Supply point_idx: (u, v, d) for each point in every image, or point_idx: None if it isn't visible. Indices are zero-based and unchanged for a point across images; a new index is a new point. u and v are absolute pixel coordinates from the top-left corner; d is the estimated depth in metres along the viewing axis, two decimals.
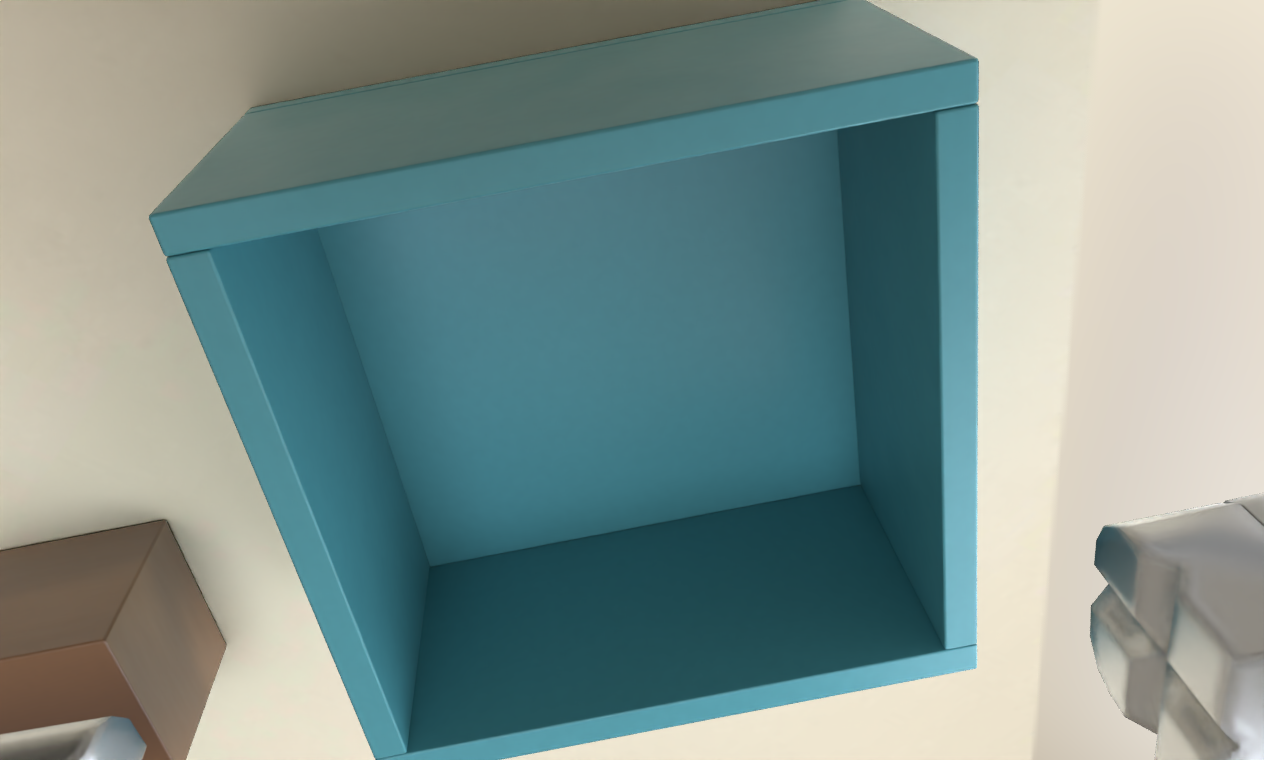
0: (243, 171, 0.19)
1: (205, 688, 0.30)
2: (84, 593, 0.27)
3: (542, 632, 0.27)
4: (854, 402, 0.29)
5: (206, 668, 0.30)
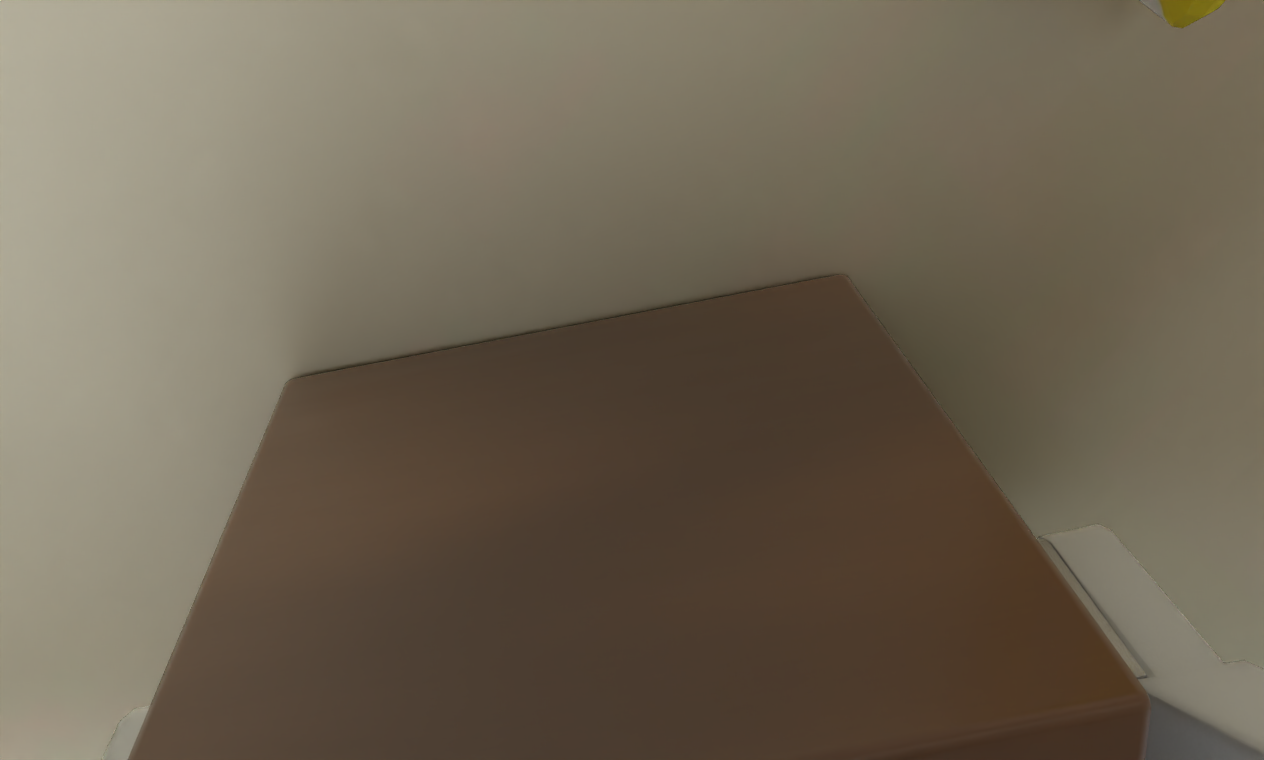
0: None
1: None
2: None
3: None
4: None
5: None
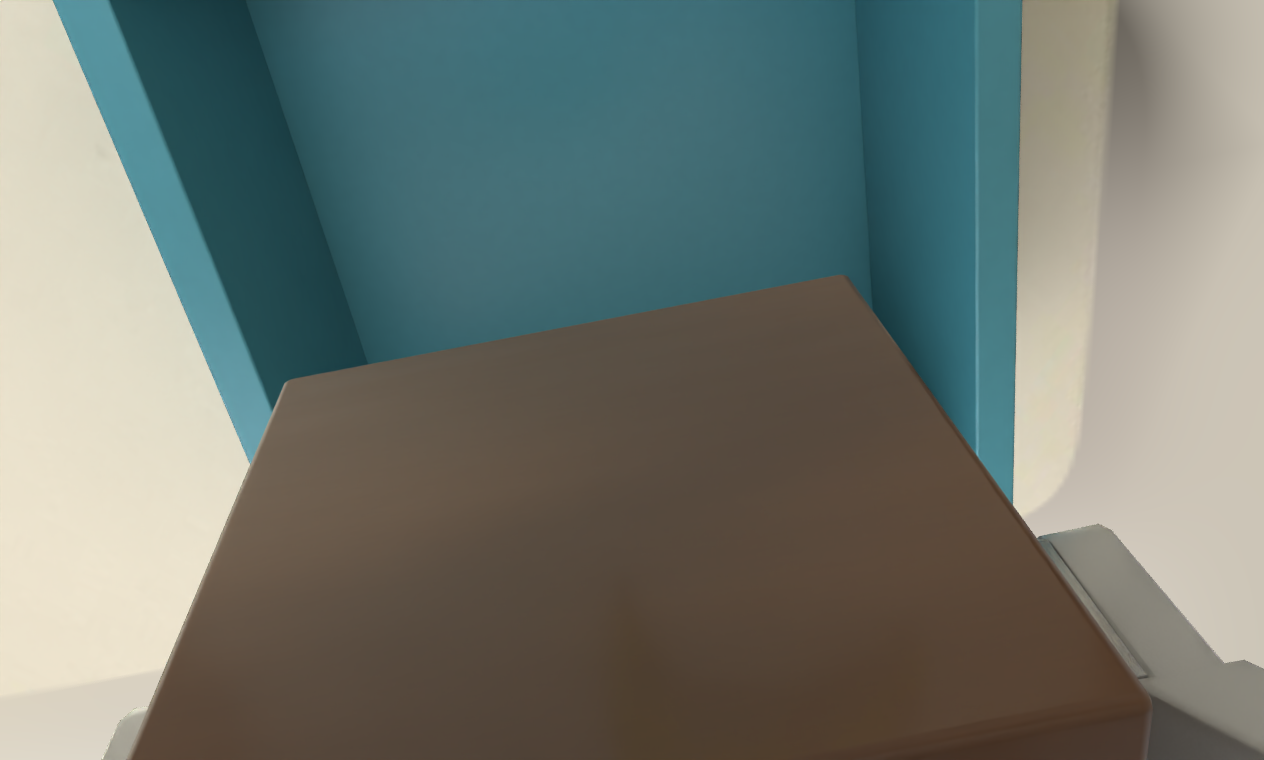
0: None
1: None
2: None
3: (239, 148, 0.19)
4: None
5: None
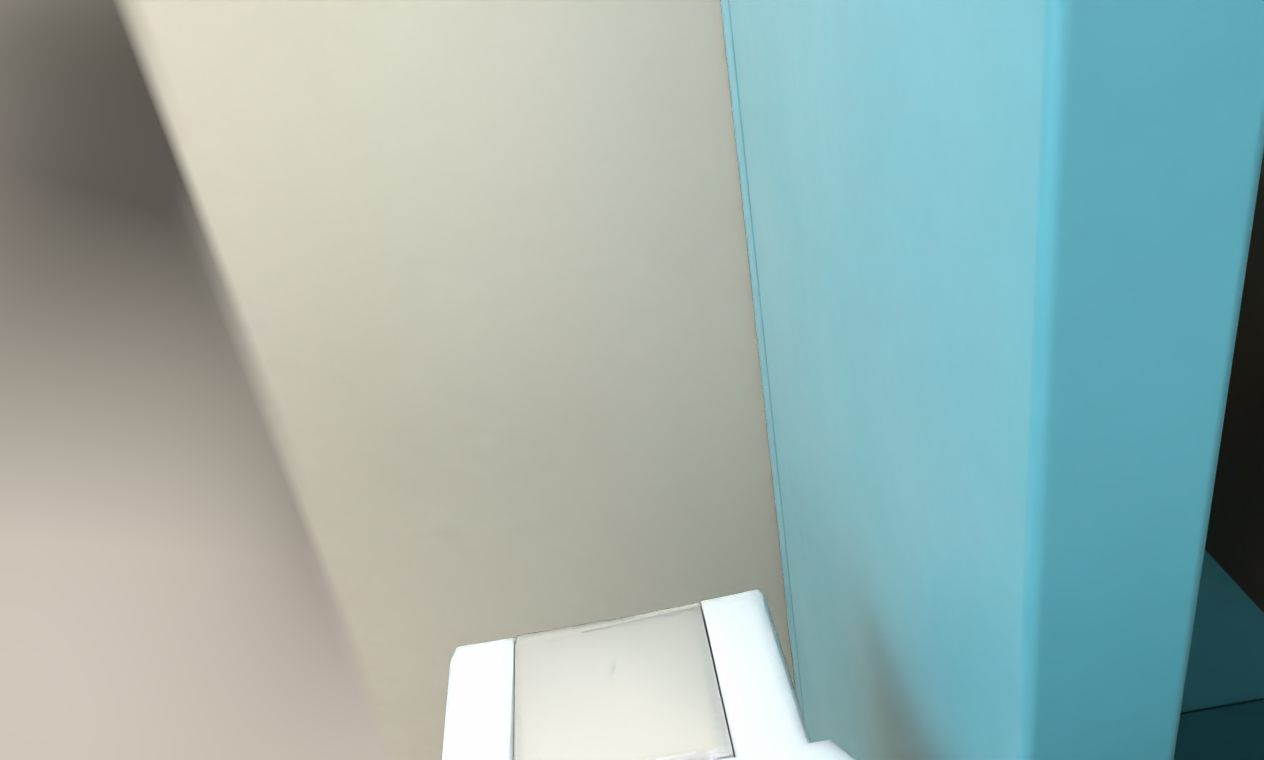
0: None
1: None
2: None
3: None
4: None
5: None
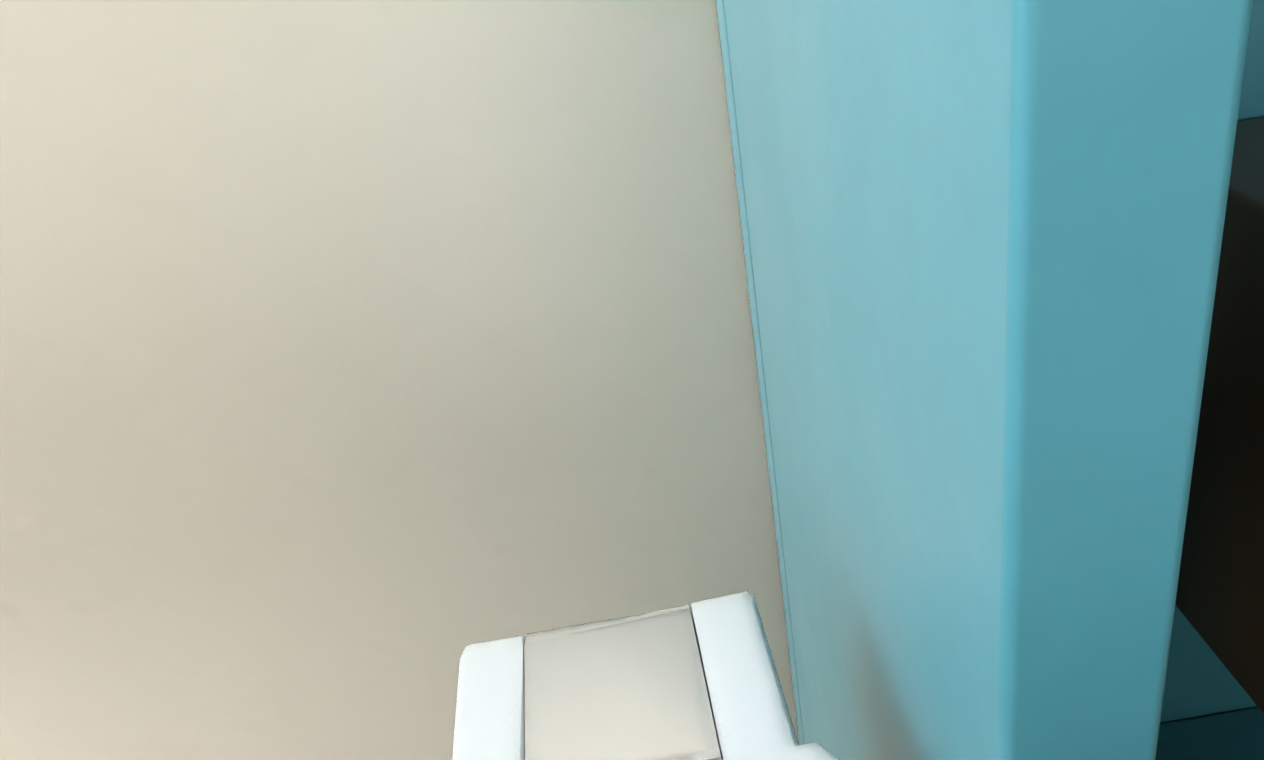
0: None
1: (1245, 233, 0.09)
2: None
3: None
4: None
5: None
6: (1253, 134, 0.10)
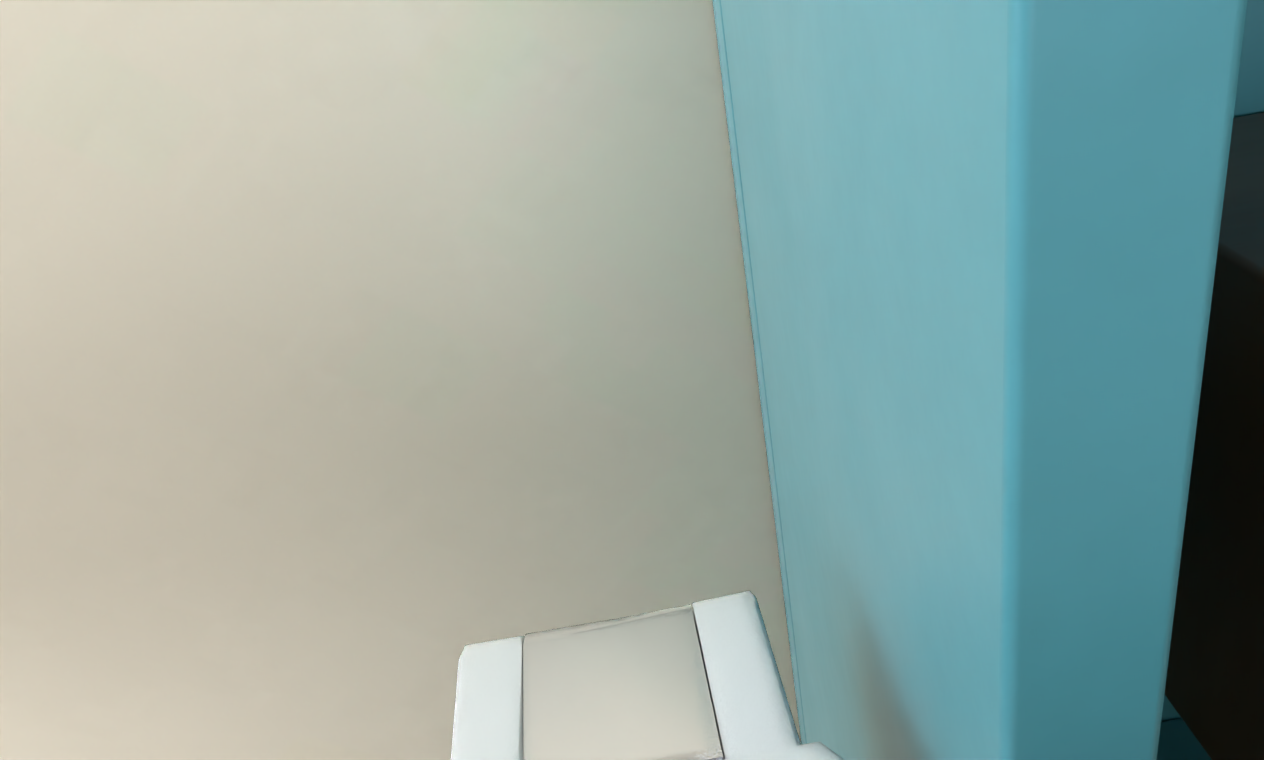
0: None
1: None
2: None
3: None
4: None
5: None
6: None
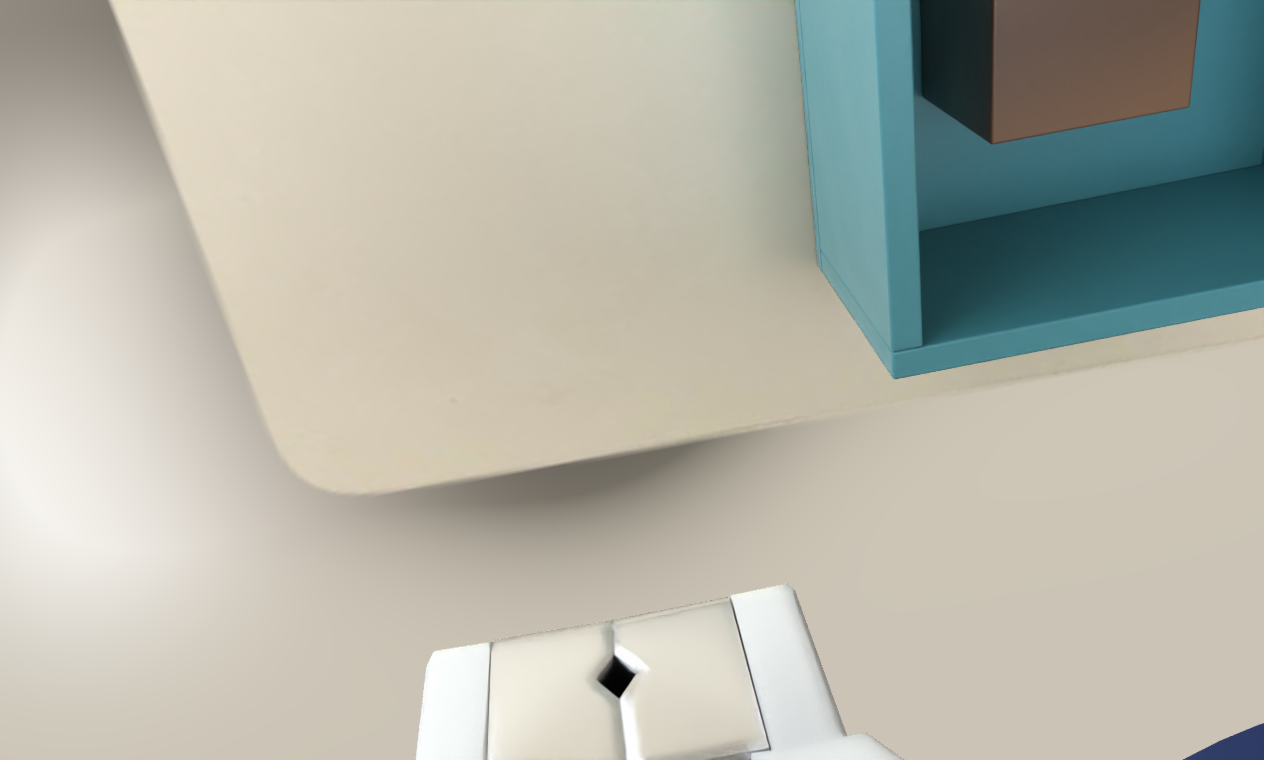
0: None
1: None
2: None
3: None
4: None
5: None
6: None
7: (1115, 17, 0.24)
